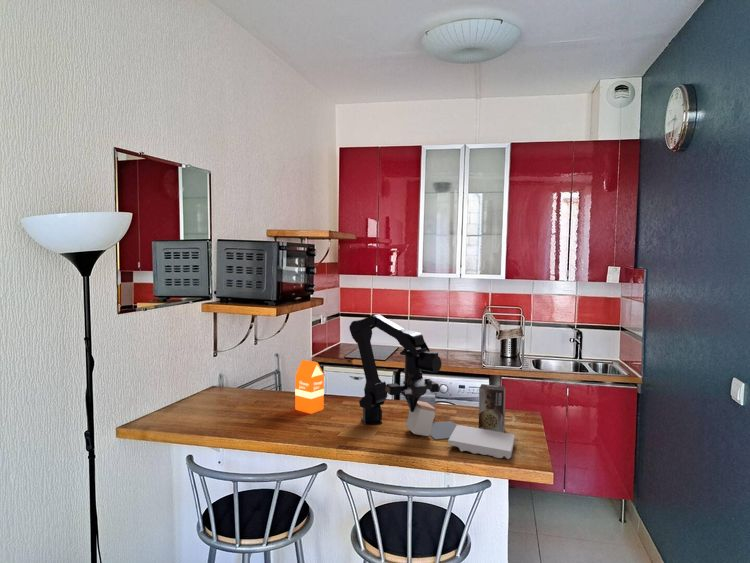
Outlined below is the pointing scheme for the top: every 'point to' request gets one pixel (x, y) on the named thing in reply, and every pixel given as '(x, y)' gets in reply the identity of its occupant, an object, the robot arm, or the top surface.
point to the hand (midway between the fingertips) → (411, 411)
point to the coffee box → (492, 407)
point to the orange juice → (309, 387)
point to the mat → (442, 430)
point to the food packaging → (482, 441)
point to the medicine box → (428, 399)
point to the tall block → (421, 419)
